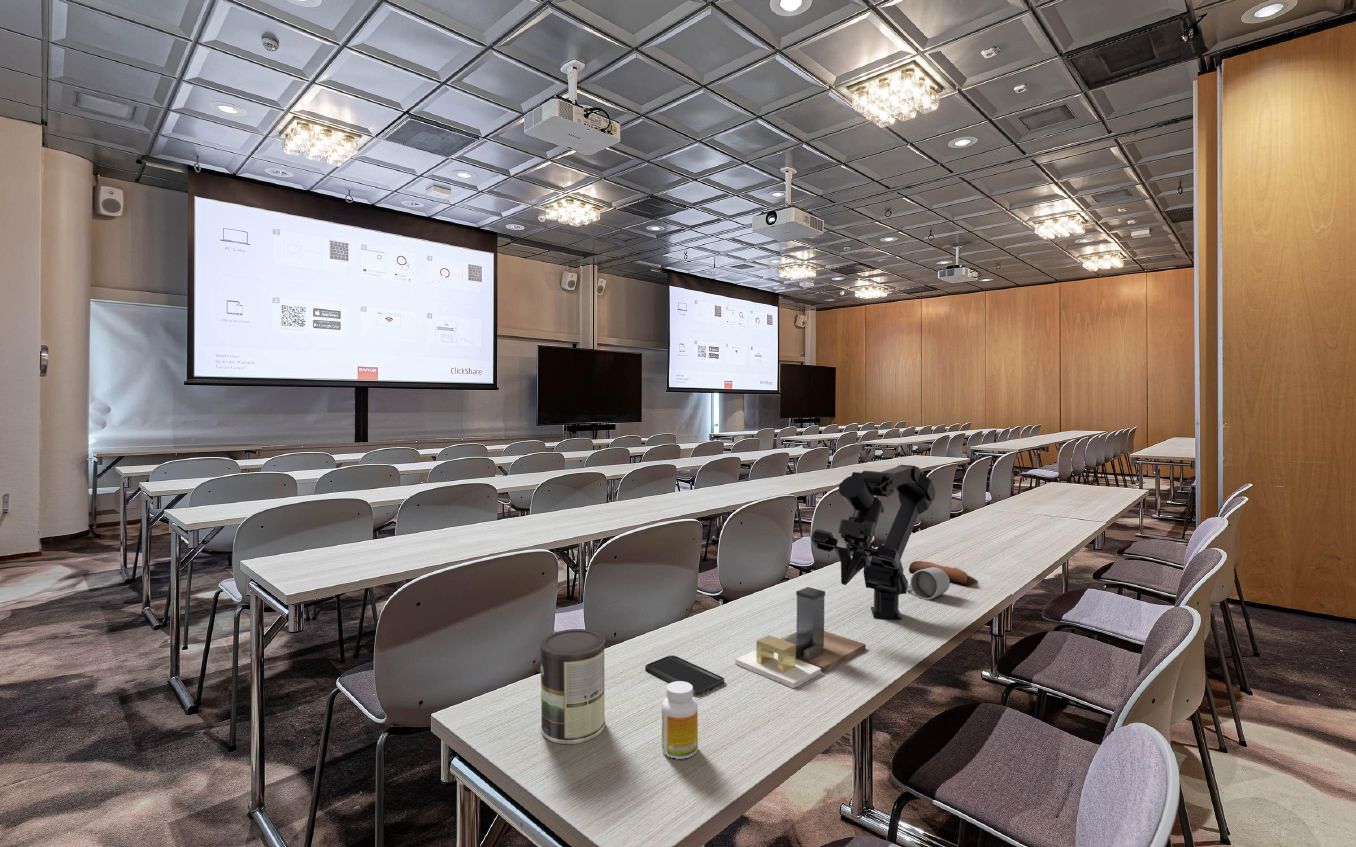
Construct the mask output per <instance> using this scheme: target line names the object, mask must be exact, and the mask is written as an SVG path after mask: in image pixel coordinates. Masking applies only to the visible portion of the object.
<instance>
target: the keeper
mask: <svg viewBox="0 0 1356 847" xmlns="http://www.w3.org/2000/svg"><path fill="white" fill-rule="evenodd" d="M755 647H756V649H755V650H756V662H757V663H760V664H763V663H765V662H767V661H769V660H771V659H773V658H774V652H775V653H777V654H778V671H780V672H782V673H784V672H786V671H788V670H790V669H792V668H793V667H795V666H796V644H793V643H790V642H787V641H784V640H782V638H778V637H775V636H774V635H770V634H769V635H766V636H764V637H761V638H759V639H757V640H756V646H755Z"/></svg>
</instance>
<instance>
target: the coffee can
mask: <svg viewBox="0 0 1356 847" xmlns="http://www.w3.org/2000/svg"><path fill="white" fill-rule="evenodd" d="M605 647H606V637H605V636H604V635H603V634H601V633H600V632H598V631H595V630H591V629H585V628H583V629H582V628H574V629H573V628H572V629H564V630H559V631H556V632H553V633H550V634H548V635H546V636H544V637H543V638H542V639H541V641H540V643H539V650H540V694H541V695H540V696H541V697H540V698H541V699H540V701H541V703H540V704H541V706H540V709H541V713H540V714H541V716H540V717H541V718H540V719H541V722H540V723H541V727H540V732H541V735H542V736H543V738H544V739H547V741H549V742H552V743H554V744H560V745H577V744H582V743H586V742H589V741H591V740H593V739H594V738H596V737H599V736H600V734H601V733H602V732H603V731H604V729H605V727H606V720H605V719H606V716H605V715H606V713H605V709H606V708H605V695H606V694H605V687H606V685H605V679H606V678H605Z"/></svg>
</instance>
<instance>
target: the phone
mask: <svg viewBox="0 0 1356 847" xmlns="http://www.w3.org/2000/svg"><path fill="white" fill-rule="evenodd" d="M644 667H645V668H644V671H645V672H647V673H648V674H650V675H652V676H654V677H656V678H658V679H660V680H663V681H664V682H666V683H668V684H670V683H672V682H676V681H684V682H688V683H690V684H691V685H692V686H693V697H700V696H701V697H702V696H703V695H705V694H707V693H709V692H711V691H714V690H717V689H718V688H720V687H723V686H725V678H724V677H723V676H721V675H719V674H717V673H714V672H712V671H710V670H708V669H706V668H703V667H701V666H698V665H696V664H694V663H692V662H690V661H687V660H685V659H683V658H681V657H679V656H677V655H667V656H665V657H662V658H659V659H658V660H657V659H656V660H654V661H652V662H650V663H647V664H645V666H644Z"/></svg>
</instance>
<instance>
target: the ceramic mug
mask: <svg viewBox="0 0 1356 847" xmlns="http://www.w3.org/2000/svg"><path fill="white" fill-rule="evenodd" d="M950 584H951V581H950V580H949V577H948V575H947V574H946V572H945V571H943V570H942V569H940V568H935V567H931V568H927V569H921V570H918V571H916V572H915V573H913V574H912V575H911V577H910V582H909V583H908V588H907V591H906V592H910V591H912V592H913V593H914V594H915V595H916V597H918V598H920V599H922V600H926V601H927V600H932V599H934V598H936V597H939V596H941V595H943V594H945V593H946V592H947V591H948V590H949V588H950Z"/></svg>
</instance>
